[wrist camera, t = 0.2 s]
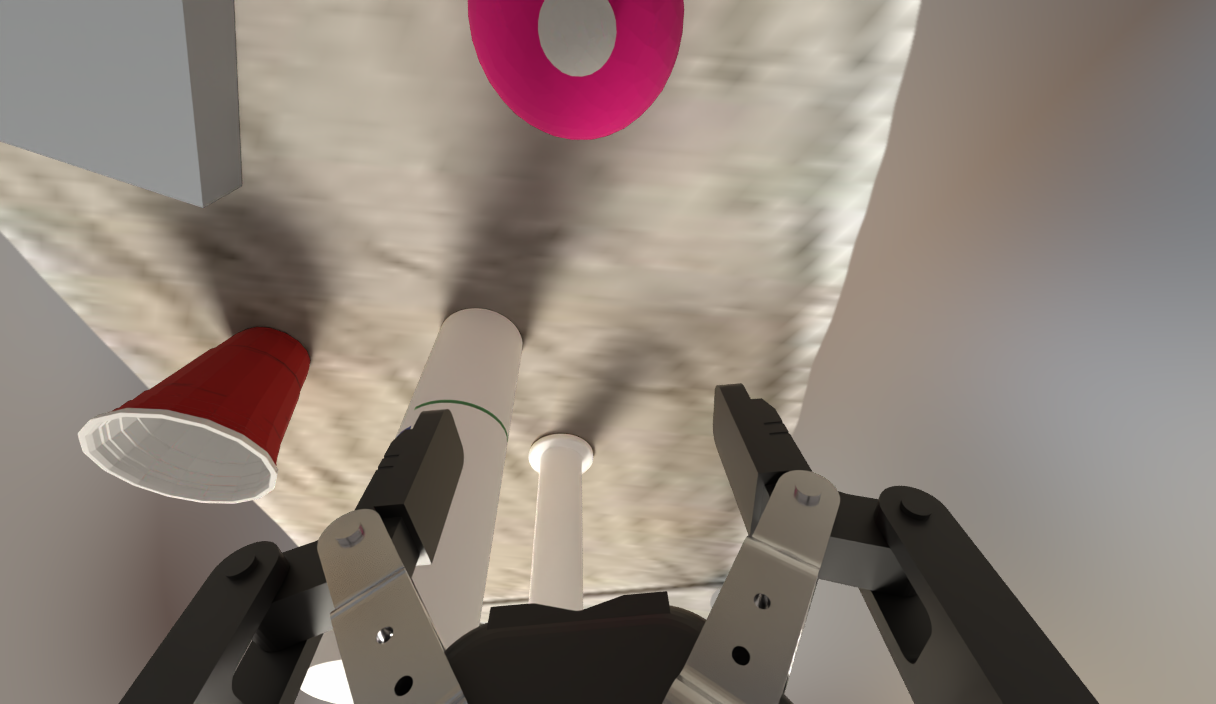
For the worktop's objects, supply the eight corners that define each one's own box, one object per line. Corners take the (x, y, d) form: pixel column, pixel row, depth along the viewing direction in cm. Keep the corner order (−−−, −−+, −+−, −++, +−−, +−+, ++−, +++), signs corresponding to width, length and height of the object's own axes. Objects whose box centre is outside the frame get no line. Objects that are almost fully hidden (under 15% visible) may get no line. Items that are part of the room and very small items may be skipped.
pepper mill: (487, 19, 25) (339, 60, 9) (563, -122, 22) (530, -413, 6) (587, 110, 28) (600, 253, 13) (667, -1, 25) (818, 6, 9)
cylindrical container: (422, 341, 39) (265, 691, 19) (474, 292, 36) (352, 643, 16) (487, 384, 42) (410, 716, 23) (539, 343, 40) (502, 681, 20)
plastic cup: (247, 403, 42) (153, 519, 33) (172, 307, 35) (26, 419, 26) (362, 394, 42) (301, 508, 33) (309, 297, 35) (213, 405, 26)
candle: (566, 480, 52) (560, 767, 33) (516, 457, 49) (476, 759, 30) (606, 450, 49) (625, 747, 30) (555, 423, 46) (538, 736, 27)
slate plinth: (-172, -276, 18) (-329, -333, 15) (230, -76, 22) (173, -88, 19) (-37, 88, 26) (-122, 101, 23) (242, 185, 30) (203, 208, 27)
